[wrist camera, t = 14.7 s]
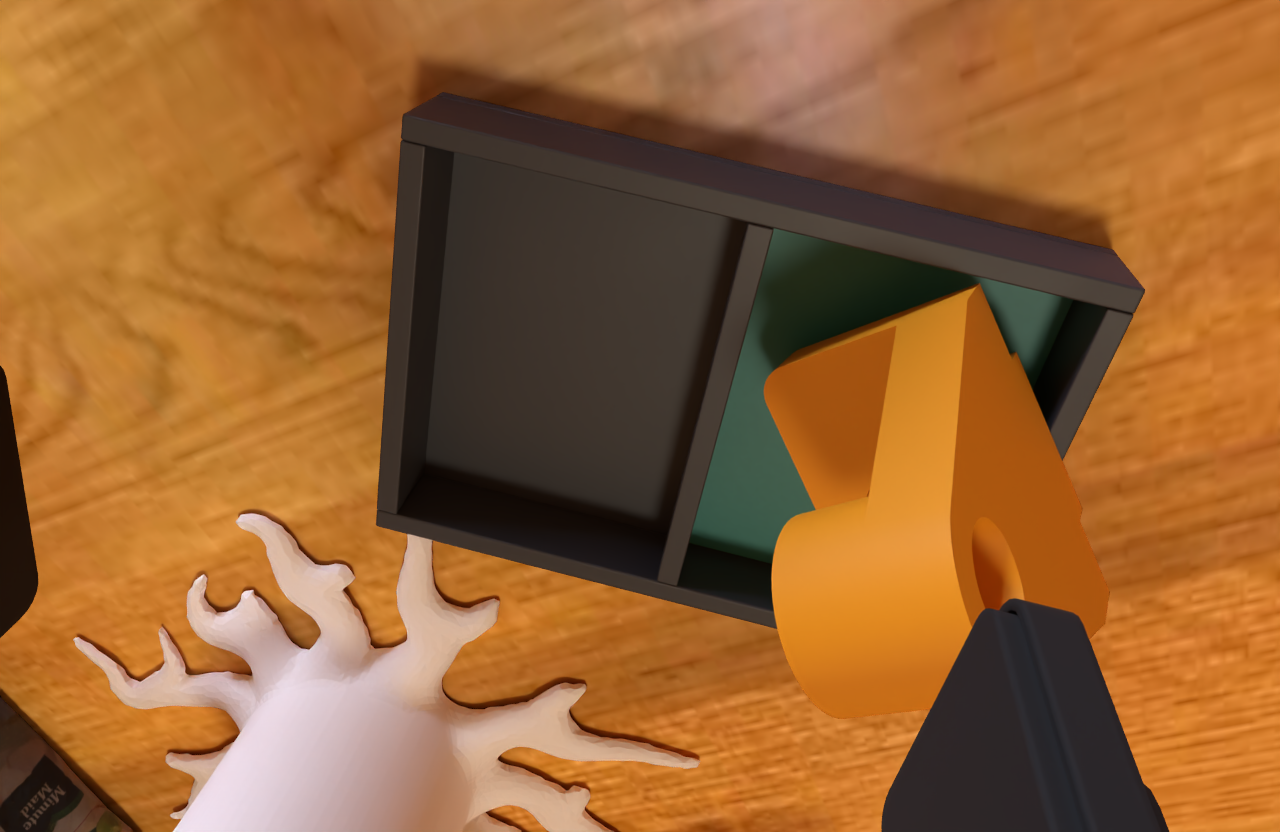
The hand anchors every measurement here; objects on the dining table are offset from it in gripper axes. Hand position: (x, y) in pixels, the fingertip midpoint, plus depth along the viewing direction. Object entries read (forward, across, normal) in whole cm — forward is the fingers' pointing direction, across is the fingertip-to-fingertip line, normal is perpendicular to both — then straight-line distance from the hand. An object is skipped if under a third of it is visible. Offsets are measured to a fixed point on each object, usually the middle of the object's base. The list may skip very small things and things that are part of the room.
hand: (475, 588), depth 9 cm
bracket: (+22, -11, +10) cm, 26 cm away
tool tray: (+25, -3, +10) cm, 27 cm away
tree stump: (+25, +8, +35) cm, 44 cm away
